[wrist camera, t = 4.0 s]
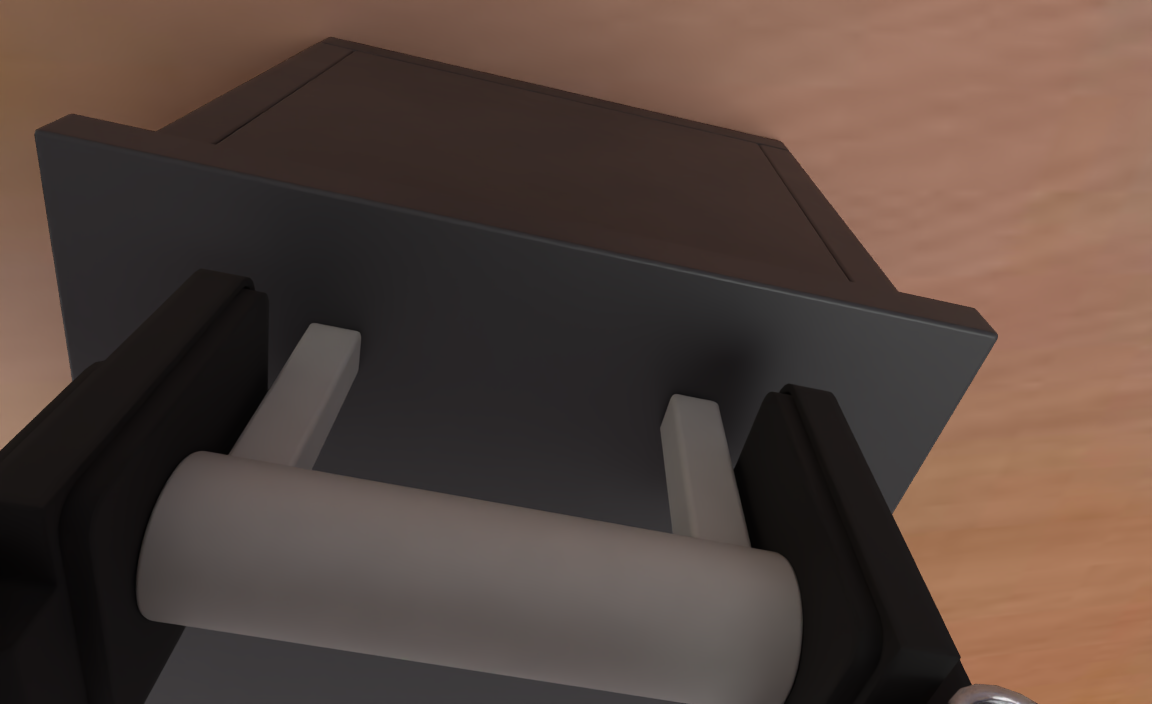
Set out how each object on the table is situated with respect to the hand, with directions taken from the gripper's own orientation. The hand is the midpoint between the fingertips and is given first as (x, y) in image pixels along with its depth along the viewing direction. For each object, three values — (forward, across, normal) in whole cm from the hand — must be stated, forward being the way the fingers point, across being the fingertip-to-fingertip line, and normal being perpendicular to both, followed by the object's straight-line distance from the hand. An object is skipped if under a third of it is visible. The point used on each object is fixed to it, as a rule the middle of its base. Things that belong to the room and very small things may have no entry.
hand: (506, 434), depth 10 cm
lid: (+2, 0, +6) cm, 6 cm away
